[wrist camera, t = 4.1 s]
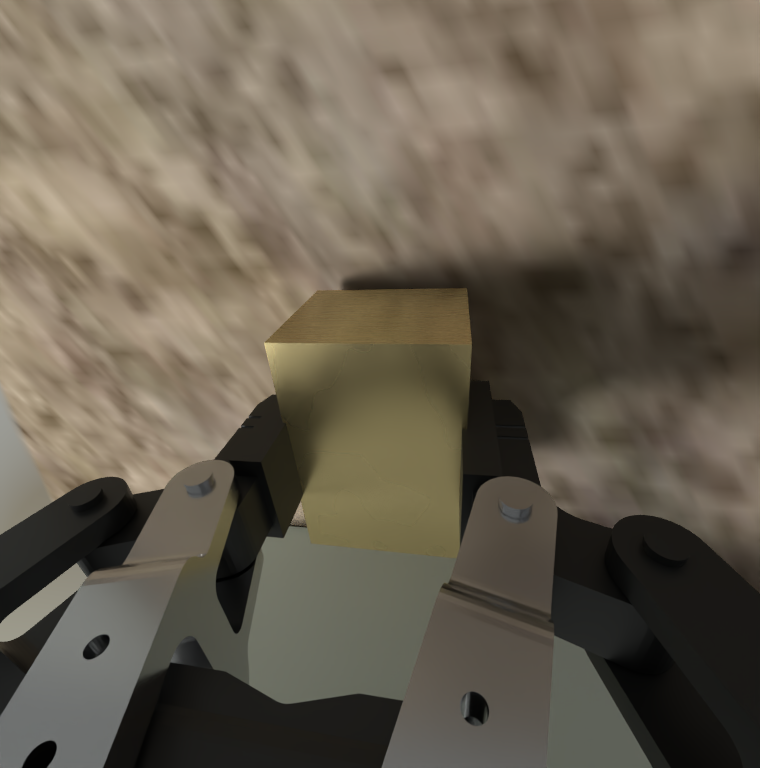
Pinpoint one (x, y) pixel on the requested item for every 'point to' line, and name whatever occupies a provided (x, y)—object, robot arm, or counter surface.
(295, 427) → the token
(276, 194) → the counter surface
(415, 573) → the box
